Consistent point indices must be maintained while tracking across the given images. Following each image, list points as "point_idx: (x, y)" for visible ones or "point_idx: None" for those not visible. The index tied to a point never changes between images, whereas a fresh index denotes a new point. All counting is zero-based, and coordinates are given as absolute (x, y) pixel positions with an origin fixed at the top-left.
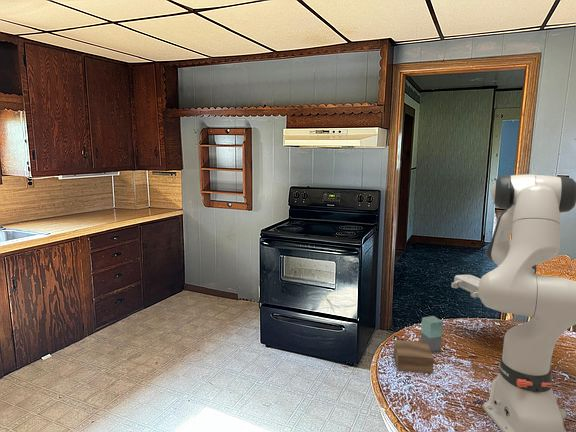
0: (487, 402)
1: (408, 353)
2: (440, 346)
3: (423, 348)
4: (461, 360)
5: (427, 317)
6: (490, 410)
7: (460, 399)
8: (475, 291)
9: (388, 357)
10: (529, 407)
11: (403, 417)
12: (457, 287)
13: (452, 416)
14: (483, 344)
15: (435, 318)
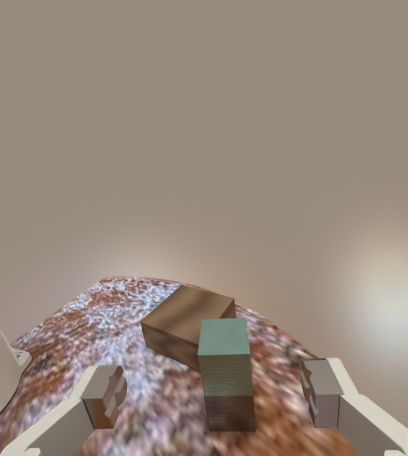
0: (22, 361)
1: (179, 297)
2: (208, 418)
3: (179, 324)
4: (136, 453)
5: (242, 330)
6: (15, 352)
7: (72, 342)
8: (92, 396)
9: None
10: None
11: (113, 280)
12: (311, 416)
13: (69, 315)
14: None
15: (227, 346)
